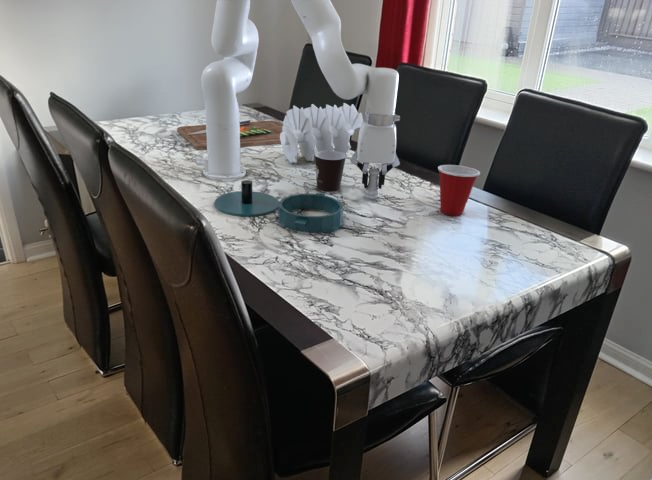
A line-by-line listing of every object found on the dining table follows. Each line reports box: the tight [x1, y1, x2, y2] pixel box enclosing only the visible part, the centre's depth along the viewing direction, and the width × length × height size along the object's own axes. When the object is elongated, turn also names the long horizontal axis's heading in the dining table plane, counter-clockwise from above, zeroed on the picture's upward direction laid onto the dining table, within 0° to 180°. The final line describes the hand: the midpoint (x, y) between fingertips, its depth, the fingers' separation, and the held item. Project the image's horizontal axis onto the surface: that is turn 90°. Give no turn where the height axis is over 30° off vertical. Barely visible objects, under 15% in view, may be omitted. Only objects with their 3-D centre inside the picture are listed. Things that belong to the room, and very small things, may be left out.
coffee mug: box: [314, 150, 347, 193], centre depth 163 cm, size 12×9×10 cm
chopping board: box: [171, 119, 283, 151], centre depth 208 cm, size 45×27×3 cm, turn 117°
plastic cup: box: [437, 164, 481, 217], centre depth 151 cm, size 11×11×12 cm
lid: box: [214, 179, 280, 218], centre depth 148 cm, size 17×17×7 cm
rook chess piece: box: [363, 166, 381, 200], centre depth 158 cm, size 4×4×8 cm
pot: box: [277, 192, 344, 234], centre depth 142 cm, size 16×21×4 cm
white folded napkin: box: [280, 102, 364, 165], centre depth 185 cm, size 18×18×25 cm
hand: (372, 186), depth 158 cm, fingers closed on rook chess piece, 3 cm apart
